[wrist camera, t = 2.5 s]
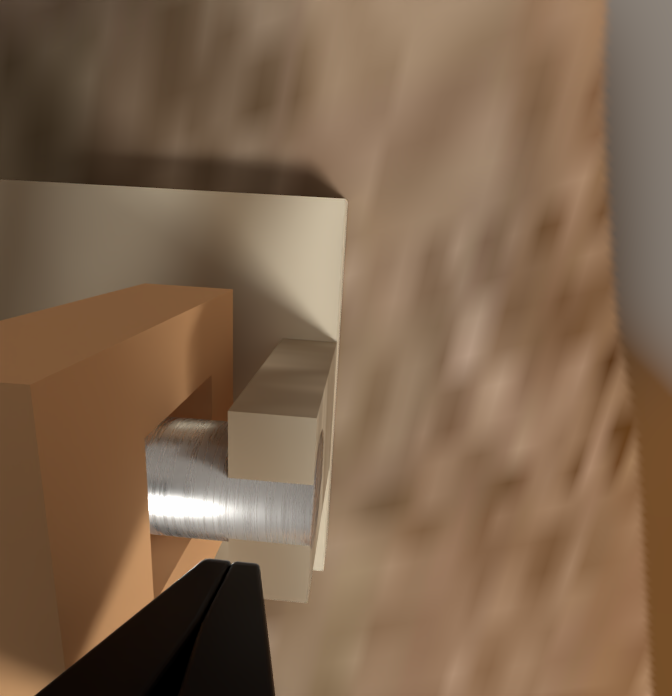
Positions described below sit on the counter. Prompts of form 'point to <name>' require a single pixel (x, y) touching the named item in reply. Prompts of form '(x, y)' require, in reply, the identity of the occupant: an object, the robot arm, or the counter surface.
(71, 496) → the slotted orange block
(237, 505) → the pipe
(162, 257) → the stand
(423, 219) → the counter surface
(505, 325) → the counter surface
